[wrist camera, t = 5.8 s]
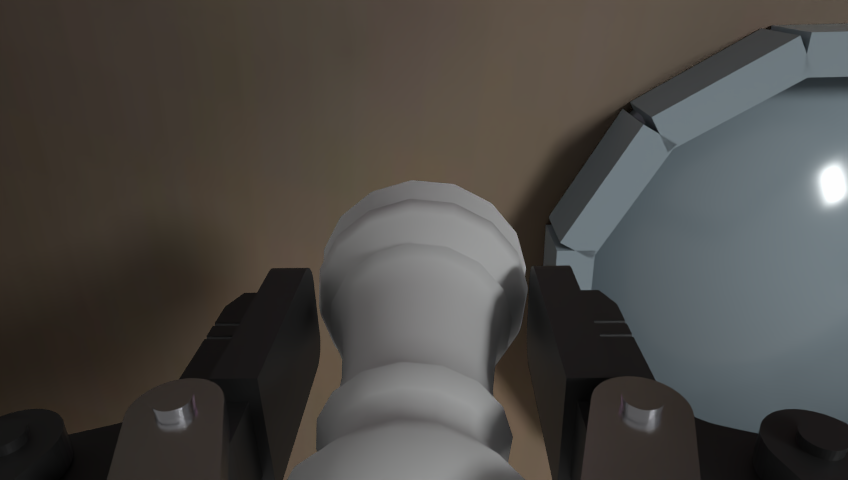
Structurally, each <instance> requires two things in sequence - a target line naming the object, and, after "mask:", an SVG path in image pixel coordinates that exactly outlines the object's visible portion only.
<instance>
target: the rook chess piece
mask: <svg viewBox="0 0 848 480" xmlns="http://www.w3.org/2000/svg"><path fill="white" fill-rule="evenodd" d="M525 272H526V266H525V262H524V258H523V255H522V251H521V247H520V244H519V240H518V236H517V233H516V232H515V231H514V229H513V228H512V227H511V226H510V225H509V223H508V222H507V221H506V220H505V219H504V217H503V216H502V215H501V214H500V213H499V212H498V210H497V209H496V208H495V207H494V206H493V204H492V203H490V202H488V201H486V200H484V199H482V198H480V197H478V196H476V195H474V194H473V193H471V192H469V191H467V190H465V189H463V188H461V187H459V186H457V185H455V184H446V183H436V182H425V181H414V180H411V181H407V182H404V183H401V184H397V185H394V186H390V187H387V188H383V189H380V190H376V191H373V192H371V193H370V194H368V195H367V196H366V197H365V198H363V199H362V200H361V201H360V202H358V203H357V204H356V205H355V206H353V207H352V208H351V209H350V210H348V211H347V212H346V213H345V214H343V215H342V216H341V217H340V219H339V221H338V223H337V225H336V227H335V229H334V231H333V233H332V235H331V237H330V239H329V241H328V243H327V245H326V247H325V249H324V262H323V264H322V266H321V268H320V286H319V307H320V313H321V316H322V318H323V321H324V323H325V325H326V327H327V330H328V332H329V334H330V336H331V339H332V341H333V343H334V345H335V347H336V348H337V349H338V351H339V353H340V355H341V358H342V380H341V384H340V387H339V388H338V389H336V390H335V391H333V392H332V394H331V396H330V397H329V399H328V401H327V403H326V404H325V406H324V408H323V410H322V411H321V413H320V415H319V417H318V418H317V440H316V450H317V452H316V453H315V454H313V455H312V456H310V457H309V458H307V459H306V460H304V461H303V462H301V463H300V464H298V465H297V466H295V467H294V469H293V471H292V472H291V474H290V476H289V477H288V479H287V480H525V479H524V478H523V477H522V476H521V475H520V474H519V473H518V472H516V471H515V470H514V469H513V468H512V467H511V466H510V465H509V464H508V459H509V454H510V448H511V443H512V438H513V436H512V433H511V430H510V427H509V424H508V421H507V418H506V415H505V411H504V408H503V406H502V405H501V404H500V403H499V402H498V401H497V400H496V399H495V398H494V397H493V383H494V372H495V366H496V364H497V363H498V361H499V360H500V359H501V357H502V356H503V355H504V353H505V352H506V350H507V349H508V347H509V346H510V345H511V343H512V342H513V340H514V339H515V337H516V336H517V335H518V333H519V331H520V327H521V324H522V319H523V314H524V308H525V303H526V297H527V292H528V286H527V282H526V279H525Z"/></svg>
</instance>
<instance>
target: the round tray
mask: <svg viewBox="0 0 848 480" xmlns="http://www.w3.org/2000/svg"><path fill="white" fill-rule="evenodd" d="M630 103H631V105H632V108H633V110H632V111H631V112H630V113H629V112H627V111H626V110H624V109H622V110H621V112H620V113H619V115H618V116H617V118H616V119H615V121H614V122H613V123H612V125H611V126H610V128H609V129H608V131H607V132H606V134H605V135H604V137H603V138H602V140H601V141H600V142H599V144H598V145H597V147H596V148H595V150H594V151H593V153H592V154H591V156H590V157H589V159H588V160H587V161H586V163H585V164H584V166H583V167H582V169H581V170H580V172H579V173H578V175H577V176H576V178H575V179H574V181H573V182H572V183H571V185H570V186H569V188H568V189H567V191H566V192H565V194H564V195H563V197H562V198H561V200H560V201H559V202H558V204H557V205H556V207H555V208H554V210H553V211H552V213H551V214H550V216H549V219H550V221H551V224H552V225H546V230H545V246H544V262H543V266H559V265H570V266H571V268H572V270H573V272H574V275H575V277H576V280H577V282H578V284H579V287H580V289H581V290H599V291H601V292H602V293H603V294H605V295H606V296H607V297H609V298H610V299H611V300H613V301H614V302H615V303H616V304H617V305H618V307H619V309H620V311H621V313H622V315H623V317H624V319H625V323H627V325H628V327H629V329H630V331H631V333H632V337H634V339H635V341H636V343H637V345H638V347H639V348H640V350H641V352H642V354H643V356H644V358H645V360H646V362H647V364H648V366H649V368H650V370H651V372H652V374H653V376H654V378H655V380H656V381H658V382H660V383H662V384H665V385H667V386H669V387H671V388H672V389H674V390H675V391H677V392H678V393H680V394H681V395H682V396H683V397H684V398H685V399H686V400H687V401H688V403H689V404H690V406H691V408H692V410H693V413H694V417H696V418H698V419H701V420H704V421H706V422H709V423H713V424H717V425H721V426H725V427H730V428H735V429H739V430H744V431H749V432H753V433H758V432H759V429H760V425H761V422H762V420H763V419H764V418H765V417H766V416H767V415H769V414H770V413H772V412H775V411H778V410H784V409H802V410H809V411H814V412H818V413H822V414H825V415H828V416H831V417H833V418H836V419H838V420H840V421H843V422H845V423H847V424H848V24H808V25H772V26H771V30H768V29H762V28H761V29H759V30H758V31H756V32H754V33H752V34H750V35H749V36H747V37H745V38H743V39H742V40H740V41H738V42H736V43H734V44H733V45H731V46H729V47H727V48H725V49H724V50H722V51H720V52H718V53H717V54H715V55H713V56H711V57H709V58H708V59H706V60H704V61H702V62H700V63H699V64H697V65H695V66H693V67H692V68H690V69H688V70H686V71H684V72H683V73H681V74H679V75H677V76H675V77H674V78H672V79H670V80H668V81H667V82H665V83H663V84H661V85H659V86H658V87H656V88H654V89H652V90H650V91H649V92H647V93H645V94H643V95H642V96H640V97H638V98H636V99H634V100H633V101H631V102H630Z"/></svg>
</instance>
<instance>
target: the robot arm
mask: <svg viewBox="0 0 848 480" xmlns="http://www.w3.org/2000/svg"><path fill="white" fill-rule="evenodd" d="M319 357H320V332H319V324H318V315H317V307H316V299H315V290H314V282H313V276H312V272H311V270H310V269H309V268H272V269H271V270H270V271H269V273H268V274H267V276H266V278H265V280H264V282H263V283H262V285H261V287H260V289H259V290H258V292H257V293H244V294H242V295H241V296H240V297H238V298H237V299H235V300H234V301H233V302H231V303H230V304H228V305H227V306H226V307H225V308H224V309H223V311H222V313H221V314H220V316H219V317H218V319H217V320H216V322H215V326H213V327H212V328H211V330H210V332H209V333H208V335H207V339H204V341H203V343H202V344H201V346H200V347H199V349H198V350H197V352H196V354H195V355H194V357H193V358H192V360H191V361H190V363H189V365H188V366H187V368H186V369H185V371H184V372H183V374H182V376H181V377H180V379H179V380H174V381H170V382H167V383H164V384H161V385H159V386H157V387H154V388H153V389H151V390H149V391H147V392H146V393H144V394H143V395H141V396H140V397H139V398H137V399H136V400H135V401H134V402H133V403H132V404H131V405H130V407H129V408H128V410H127V411H126V413H125V416H124V419H123V422H122V423H118V424H114V425H110V426H106V427H101V428H97V429H92V430H87V431H83V432H78V433H74V434H69V435H68V433H67V431H66V428H65V425H64V422H63V419H62V418H61V417H60V415H58V414H57V413H56V412H53V411H50V410H45V409H30V410H23V411H17V412H14V413H10V414H7V415H4V416H1V417H0V480H283V477H284V474H285V471H286V468H287V464H288V461H289V458H290V455H291V452H292V448H293V445H294V442H295V439H296V435H297V432H298V429H299V426H300V423H301V419H302V416H303V413H304V410H305V407H306V403H307V400H308V397H309V394H310V390H311V387H312V384H313V381H314V378H315V374H316V371H317V368H318V364H319ZM527 357H528V365H529V370H530V375H531V380H532V384H533V389H534V394H535V399H536V403H537V408H538V413H539V418H540V423H541V427H542V432H543V437H544V442H545V446H546V451H547V456H548V461H549V465H550V470H551V475H552V480H848V424H847V423H845V422H843V421H840V420H838V419H836V418H833V417H831V416H828V415H825V414H822V413H818V412H814V411H809V410H802V409H784V410H778V411H775V412H772V413H770V414H769V415H767V416H766V417H765V418H764V419H763V420H762V422H761V425H760V429H759V432H758V433H753V432H749V431H744V430H739V429H735V428H730V427H725V426H721V425H717V424H713V423H709V422H706V421H704V420H701V419H698V418H696V417H694V413H693V410H692V408H691V406H690V404H689V403H688V401H687V400H686V399H685V398H684V397H683V396H682V395H681V394H680V393H678V392H677V391H675V390H674V389H672V388H671V387H669V386H667V385H665V384H662V383H660V382H658V381H656V380H655V378H654V376H653V374H652V372H651V370H650V368H649V366H648V364H647V362H646V360H645V358H644V356H643V354H642V352H641V350H640V348H639V347H638V345H637V343H636V341H635V339H634V337H632V333H631V331H630V329H629V327H628V325H627V323H625V319H624V317H623V315H622V313H621V311H620V309H619V307H618V305H617V304H616V303H615V302H614V301H613V300H611V299H610V298H609V297H607V296H606V295H605V294H603V293H602V292H601V291H599V290H581V289H580V287H579V284H578V282H577V280H576V277H575V275H574V272H573V270H572V268H571V266H570V265H559V266H532V267H531V271H530V281H529V301H528V321H527Z"/></svg>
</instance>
